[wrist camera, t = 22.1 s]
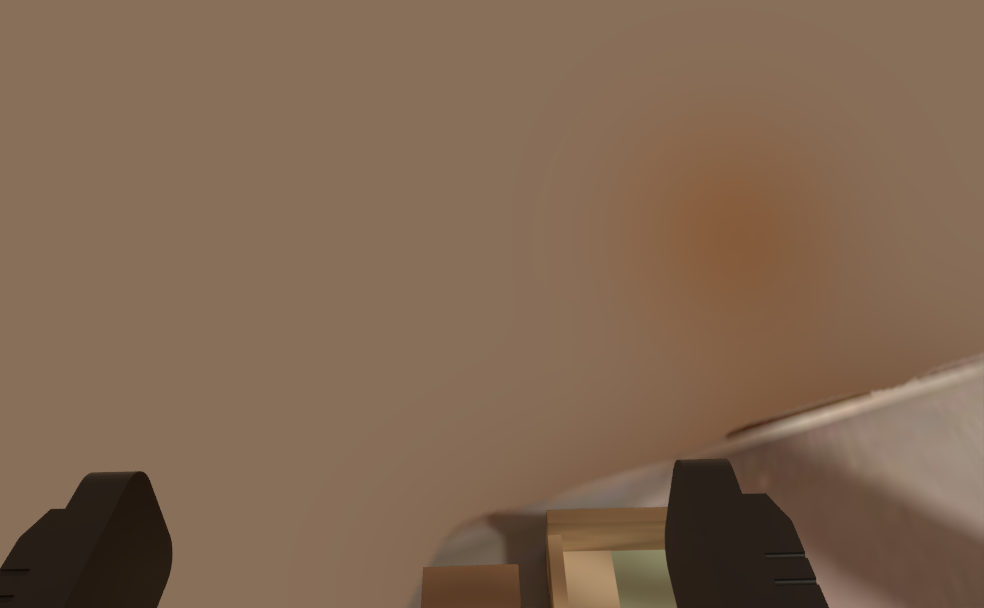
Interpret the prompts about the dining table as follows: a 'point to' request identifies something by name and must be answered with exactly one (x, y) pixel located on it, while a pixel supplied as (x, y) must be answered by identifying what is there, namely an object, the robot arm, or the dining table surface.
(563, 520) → the tray
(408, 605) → the dining table surface
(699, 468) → the robot arm
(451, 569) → the walnut block
